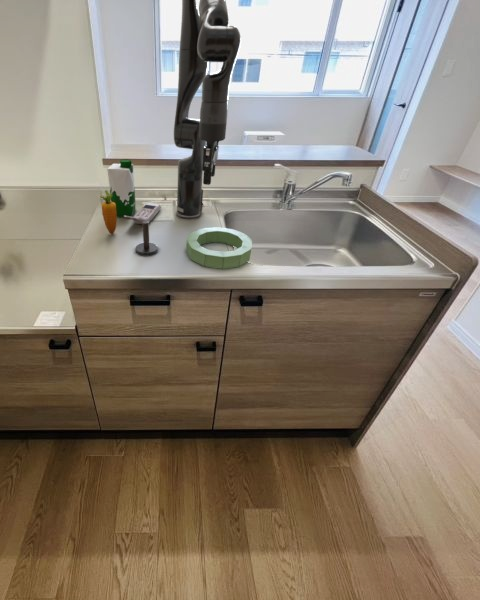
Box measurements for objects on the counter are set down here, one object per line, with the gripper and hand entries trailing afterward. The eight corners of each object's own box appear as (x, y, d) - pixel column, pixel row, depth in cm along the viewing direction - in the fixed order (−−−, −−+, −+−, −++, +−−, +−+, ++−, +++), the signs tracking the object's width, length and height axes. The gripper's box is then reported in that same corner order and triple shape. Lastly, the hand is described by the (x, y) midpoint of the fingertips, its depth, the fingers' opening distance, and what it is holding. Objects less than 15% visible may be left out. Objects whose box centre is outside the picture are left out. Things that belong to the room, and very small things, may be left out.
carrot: (116, 238, 107) (111, 194, 98) (102, 237, 108) (96, 193, 99) (121, 232, 111) (117, 189, 102) (108, 231, 112) (102, 188, 103)
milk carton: (132, 218, 121) (128, 163, 109) (110, 217, 122) (103, 162, 110) (138, 210, 128) (135, 158, 116) (116, 209, 129) (111, 156, 117)
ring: (213, 233, 112) (214, 222, 110) (262, 252, 101) (264, 241, 99) (174, 251, 101) (174, 240, 98) (223, 275, 89) (225, 263, 87)
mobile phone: (122, 215, 108) (148, 192, 127) (124, 231, 112) (149, 207, 131) (139, 218, 107) (162, 194, 126) (139, 234, 111) (162, 209, 130)
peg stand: (147, 243, 105) (146, 215, 99) (162, 250, 101) (161, 222, 95) (131, 250, 101) (129, 222, 95) (145, 257, 97) (144, 229, 91)
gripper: (223, 125, 81) (218, 188, 91) (229, 117, 92) (223, 174, 102) (195, 124, 83) (192, 186, 93) (204, 116, 94) (200, 172, 104)
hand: (209, 180), depth 98 cm, fingers open, 8 cm apart
